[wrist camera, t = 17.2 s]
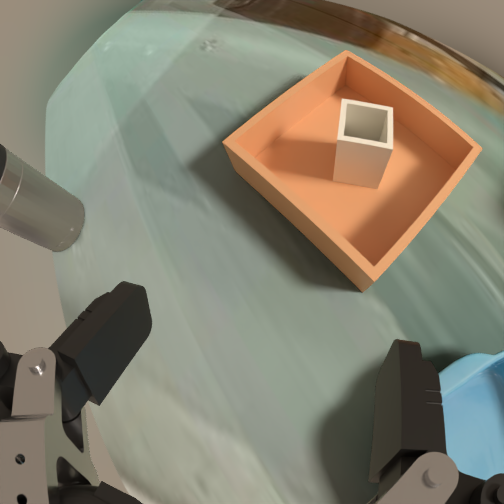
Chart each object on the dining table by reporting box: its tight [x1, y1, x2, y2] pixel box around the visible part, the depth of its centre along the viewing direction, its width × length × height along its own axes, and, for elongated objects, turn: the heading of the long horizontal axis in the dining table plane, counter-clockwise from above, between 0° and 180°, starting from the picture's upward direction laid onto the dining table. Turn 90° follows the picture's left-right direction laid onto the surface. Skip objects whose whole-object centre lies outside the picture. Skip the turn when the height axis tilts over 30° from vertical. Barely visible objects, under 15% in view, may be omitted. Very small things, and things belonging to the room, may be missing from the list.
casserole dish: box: [438, 350, 504, 480], centre depth 23 cm, size 37×22×7 cm, turn 24°
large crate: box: [222, 50, 483, 293], centre depth 36 cm, size 22×22×7 cm
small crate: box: [333, 99, 393, 189], centre depth 34 cm, size 6×6×9 cm
